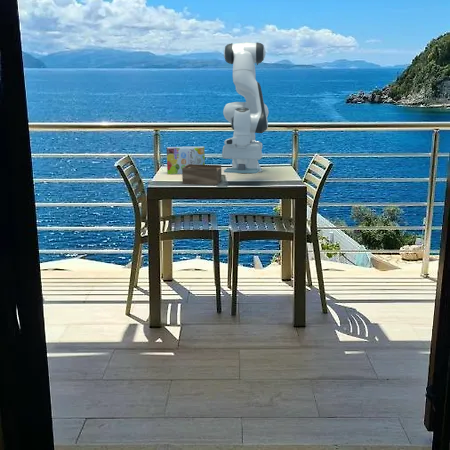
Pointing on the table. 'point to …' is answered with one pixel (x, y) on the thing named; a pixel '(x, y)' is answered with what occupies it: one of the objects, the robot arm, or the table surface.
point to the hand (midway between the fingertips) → (241, 167)
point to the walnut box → (201, 174)
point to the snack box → (183, 158)
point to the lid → (241, 169)
